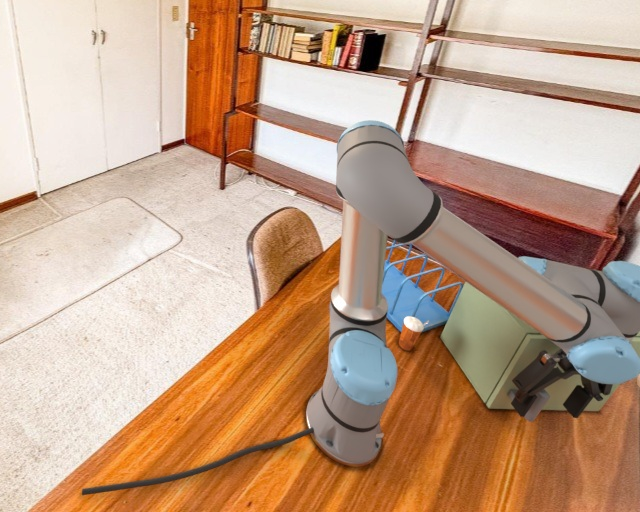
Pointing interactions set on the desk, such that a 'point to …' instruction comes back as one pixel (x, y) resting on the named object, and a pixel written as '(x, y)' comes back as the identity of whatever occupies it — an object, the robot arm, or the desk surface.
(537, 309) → the robot arm
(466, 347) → the cupboard
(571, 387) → the door
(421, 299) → the file sorter
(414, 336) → the milkshake
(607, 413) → the desk surface
